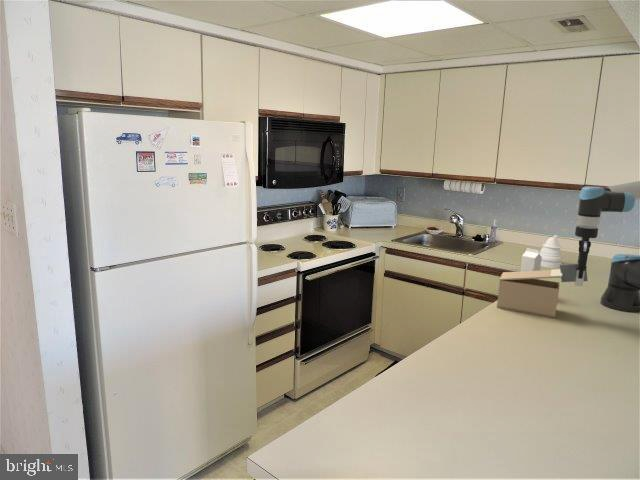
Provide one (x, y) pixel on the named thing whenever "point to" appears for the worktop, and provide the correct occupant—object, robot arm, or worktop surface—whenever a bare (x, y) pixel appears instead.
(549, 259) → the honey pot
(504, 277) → the flap
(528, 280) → the carton
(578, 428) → the worktop surface
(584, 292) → the worktop surface
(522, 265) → the milk
